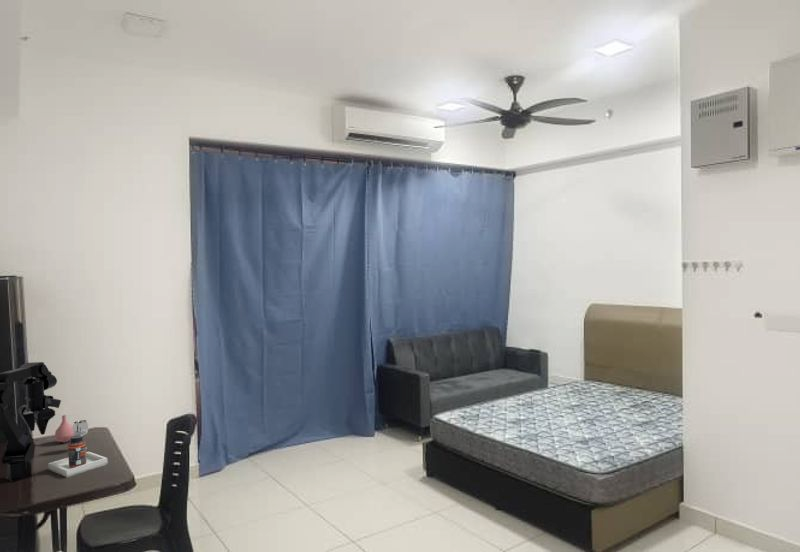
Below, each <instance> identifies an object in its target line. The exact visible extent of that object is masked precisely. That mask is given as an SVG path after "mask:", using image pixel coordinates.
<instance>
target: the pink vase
mask: <svg viewBox="0 0 800 552" xmlns="http://www.w3.org/2000/svg"><path fill="white" fill-rule="evenodd" d="M61 420H62V421H61V422H60V425H59V426H58V427H57V429H56V430H55V433H54V437H55V439H56V442H59V443H60V442H61V443H62V442H63V443H62V444H65V442H66V443H68V442H69V441H71V437H72V436H75V435H74V434H73V426H72V425H70V424H69V422H68V420H67V415H66V414H64V415H61Z"/></svg>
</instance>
